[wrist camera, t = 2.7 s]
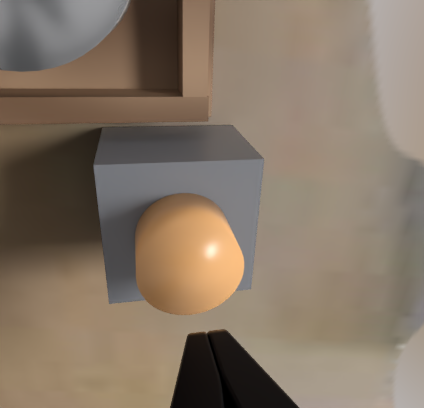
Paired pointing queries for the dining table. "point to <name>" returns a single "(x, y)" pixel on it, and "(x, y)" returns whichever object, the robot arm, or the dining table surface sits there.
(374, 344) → the dining table surface
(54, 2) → the seated billet
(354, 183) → the dining table surface
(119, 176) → the grey square block
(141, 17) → the pallet
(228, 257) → the button
